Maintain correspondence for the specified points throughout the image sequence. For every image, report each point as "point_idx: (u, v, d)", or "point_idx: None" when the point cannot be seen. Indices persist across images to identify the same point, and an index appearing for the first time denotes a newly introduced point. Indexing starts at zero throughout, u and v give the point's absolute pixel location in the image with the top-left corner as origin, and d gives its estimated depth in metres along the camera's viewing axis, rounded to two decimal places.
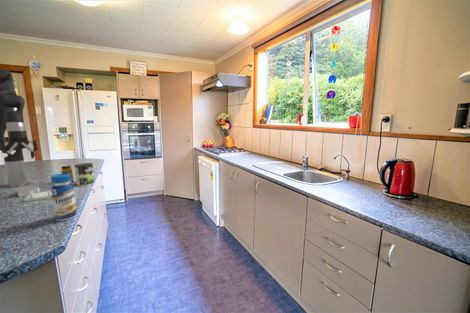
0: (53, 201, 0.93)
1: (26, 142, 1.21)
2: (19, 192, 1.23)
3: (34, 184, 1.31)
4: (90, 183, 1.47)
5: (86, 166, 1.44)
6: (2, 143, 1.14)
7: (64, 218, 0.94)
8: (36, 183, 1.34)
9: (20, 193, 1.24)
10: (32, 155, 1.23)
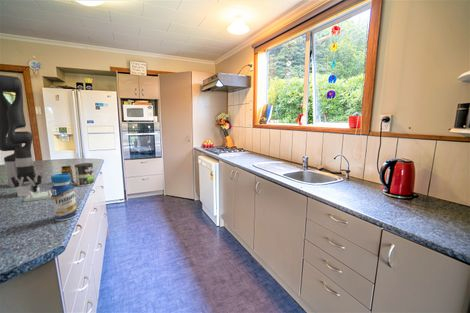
0: (53, 201, 0.93)
1: (31, 176, 1.28)
2: (18, 192, 1.23)
3: None
4: (90, 183, 1.47)
5: (86, 166, 1.44)
6: (12, 178, 1.25)
7: (64, 218, 0.94)
8: None
9: (19, 193, 1.24)
10: (34, 189, 1.30)
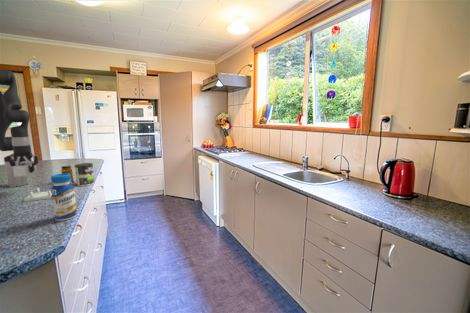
0: (53, 201, 0.93)
1: (28, 156, 1.26)
2: (15, 171, 1.22)
3: None
4: (90, 183, 1.47)
5: (86, 166, 1.44)
6: (8, 158, 1.23)
7: (64, 218, 0.94)
8: None
9: (16, 172, 1.22)
10: (31, 169, 1.28)
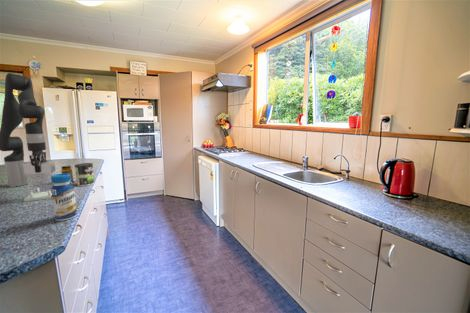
0: (53, 201, 0.93)
1: None
2: None
3: None
4: (90, 183, 1.47)
5: (86, 166, 1.44)
6: None
7: (64, 218, 0.94)
8: (45, 164, 1.20)
9: None
10: (35, 169, 1.18)
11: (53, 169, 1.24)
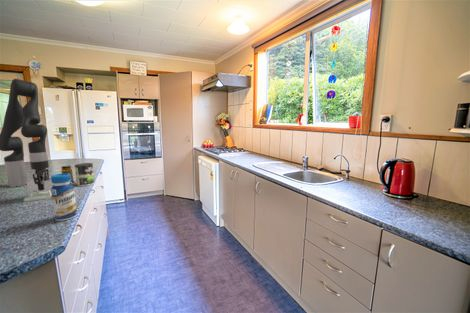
0: (53, 201, 0.93)
1: None
2: None
3: None
4: (90, 183, 1.47)
5: (86, 166, 1.44)
6: None
7: (64, 218, 0.94)
8: (48, 182, 1.22)
9: None
10: (38, 187, 1.20)
11: None
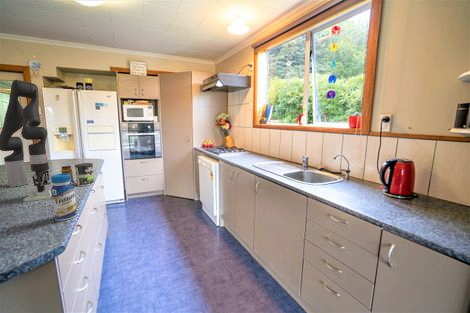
0: (53, 201, 0.93)
1: None
2: None
3: (43, 187, 1.21)
4: (90, 183, 1.47)
5: (86, 166, 1.44)
6: None
7: (64, 218, 0.94)
8: (48, 186, 1.22)
9: None
10: (37, 189, 1.19)
11: None
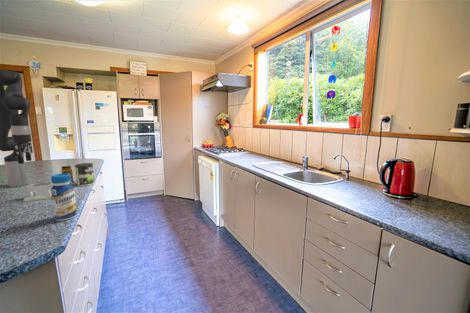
0: (53, 201, 0.93)
1: None
2: None
3: (43, 187, 1.21)
4: (90, 183, 1.47)
5: (86, 166, 1.44)
6: None
7: (64, 218, 0.94)
8: (48, 186, 1.22)
9: None
10: (18, 160, 1.17)
11: None
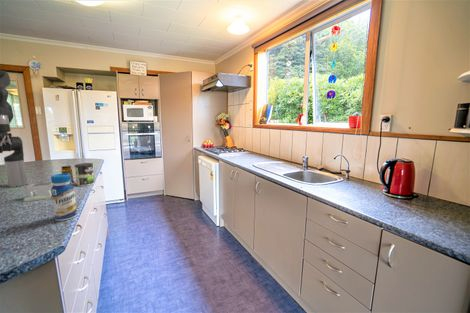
0: (53, 201, 0.93)
1: None
2: None
3: (43, 187, 1.21)
4: (90, 183, 1.47)
5: (86, 166, 1.44)
6: None
7: (64, 218, 0.94)
8: (48, 186, 1.22)
9: None
10: None
11: None
